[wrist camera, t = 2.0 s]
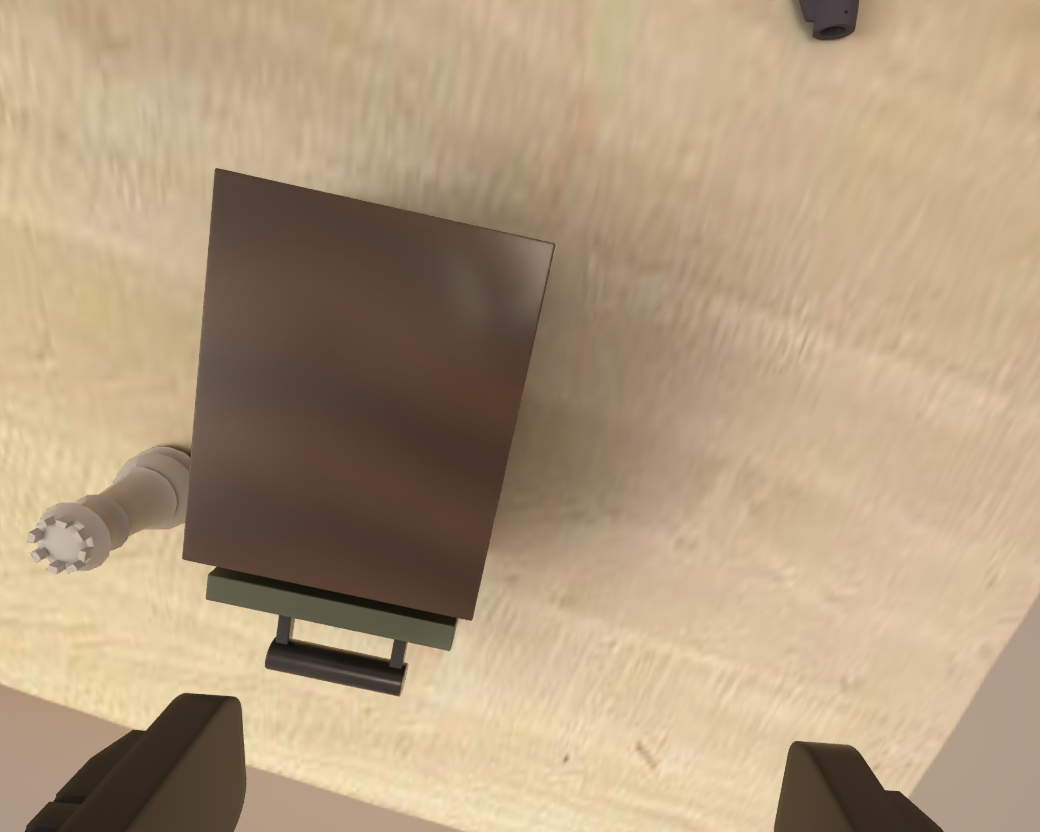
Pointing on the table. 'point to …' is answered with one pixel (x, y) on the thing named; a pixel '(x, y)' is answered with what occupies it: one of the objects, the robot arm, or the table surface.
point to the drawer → (337, 613)
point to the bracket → (831, 17)
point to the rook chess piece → (115, 512)
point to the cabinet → (356, 392)
